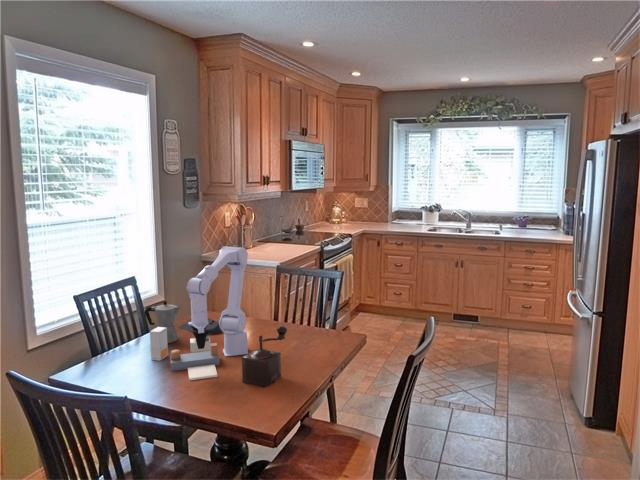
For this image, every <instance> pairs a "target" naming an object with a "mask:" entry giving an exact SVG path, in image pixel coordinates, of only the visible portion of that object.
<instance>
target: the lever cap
mask: <svg viewBox="0 0 640 480" xmlns="http://www.w3.org/2000/svg"><path fill="white" fill-rule="evenodd" d="M210 343H211V338H210V336H207V337H206V341H205V347H204V349H198V346H197V341H196V338H195V337H193V338H191V337H190V338H189V347H190V349H189V350H190V353H197V352H205V351H211V345H210Z"/></svg>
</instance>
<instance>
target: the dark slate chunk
mask: <svg viewBox="0 0 640 480" xmlns="http://www.w3.org/2000/svg"><path fill="white" fill-rule="evenodd" d="M207 319H208V324H207V327H206V329H205V330H209V332H208V334H207V336H209V337H210V336H212V335H216V334H219V333H223V332H222V330H221V329H220V327H219V321H218V320H217V321H216V320H214V319H211V318H208V317H207ZM188 322H192V319H189V320H187V321H185V322H184V323H183V324H181V325H180V326H179V327H178V329H180V328H181V329H180V330H183V329H184V330H183V331H185V330H187V332H188V331H189V333H191V334H193V328H192V326H191V325H188Z"/></svg>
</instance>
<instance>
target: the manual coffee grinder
mask: <svg viewBox="0 0 640 480" xmlns="http://www.w3.org/2000/svg"><path fill="white" fill-rule="evenodd" d="M276 332H277V333H278V336H277V337H274V338H273V337H269V338H263V335H258V342H259V348H256V349H254V350H253V351H251V352H248V354H244V356H242V357H241V368H242V369H241V370H242V371H241V372H242V376H241V377H242V383H244V384H248V385H251V386H256V387H257V386H258V387H261V388H267V387H270V386H271V385H272V384H274V383H276V382H277V381H278V380H279V379H280V378H281V377H282V374H281V373H282V368H281V367H282V365H281V364H282V362H281V358H282V357H281V355H282V353H281V352H279V351H274V350H269V349H267V348H263V343H265V342H269V341H282V340H285V339H286V334H287V333H288V328H287V327H286V326H283V325H282V326H279V327H277V329H276Z"/></svg>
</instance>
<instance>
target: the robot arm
mask: <svg viewBox="0 0 640 480" xmlns="http://www.w3.org/2000/svg"><path fill="white" fill-rule="evenodd" d="M248 256H249V255H248V251H247V249H246V248H245V247H242V246H241V247H239V246H238V247H237V246H225V245H224V246H222V247H221V248H220V250H219V252H218V256H217V258H216V259H215V260H214V261H213V263H212V264H211V265H205V266H204V268H203V269H202V270H201V271H200V272H199V273H198V274H197V275H196V276H195V277H191V278H190V279H189V280H188V281H187V284H186V286H185V287H186V291H187V293H188V297H189V298H190V312H191V313H190V316H191V319H192V322H188V325H191V326H192V328H193V333H192V334H193V337H194V338H196V341H197V346H198V349H204V347H205V341H206V337H207V334H208V332H209V330H205V329H206V327H207V324H208V319H207V318H208V299H207V295H208V293H209V291H210V289H211V286H212V283H213V282H214V281H215V280H216V279H217V278H218V276H219V271H220V270H222V269H223V268H224V267H225V266H228V267H229V268H230V269H231V272H230V280H229V291H228V297H227V298H228V300H227V307H226V308H225V309H224V310H223V311H221V313H220V315H221V316H220V318H219V321H218V322H219V327H220V329H221V330H222V332H221V333H223V343H224V348H223V349H222V352H223V354H224V357H225V358H226V357H234V356H243V355H247V354H249V350H248V348H249V345H248V332H247V330H246V329H245V328H246V325H247V321H246V320H247V319H246V313H245V312H244V311H243V310H242V309H241V305H242V295H243V287H244V286H243V284H244V277H245V269H246V268H247V264H248Z"/></svg>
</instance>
